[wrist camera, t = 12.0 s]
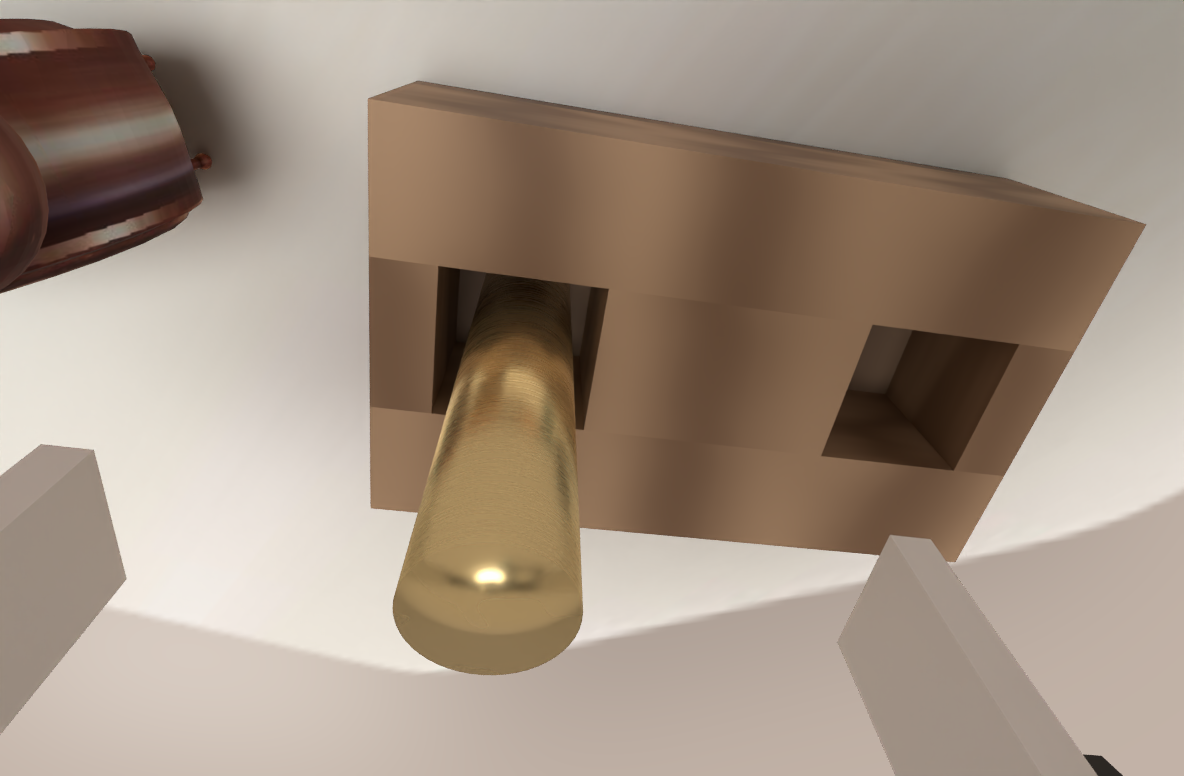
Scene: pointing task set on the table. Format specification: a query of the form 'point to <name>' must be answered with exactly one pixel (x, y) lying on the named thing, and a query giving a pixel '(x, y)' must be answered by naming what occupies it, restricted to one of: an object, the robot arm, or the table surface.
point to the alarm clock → (83, 150)
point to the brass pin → (501, 495)
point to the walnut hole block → (729, 315)
